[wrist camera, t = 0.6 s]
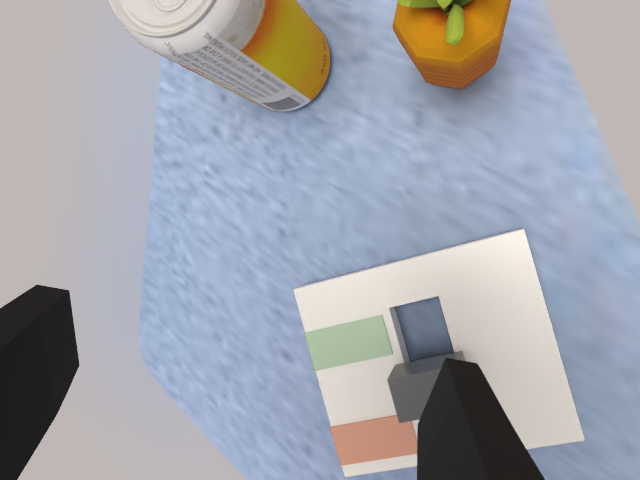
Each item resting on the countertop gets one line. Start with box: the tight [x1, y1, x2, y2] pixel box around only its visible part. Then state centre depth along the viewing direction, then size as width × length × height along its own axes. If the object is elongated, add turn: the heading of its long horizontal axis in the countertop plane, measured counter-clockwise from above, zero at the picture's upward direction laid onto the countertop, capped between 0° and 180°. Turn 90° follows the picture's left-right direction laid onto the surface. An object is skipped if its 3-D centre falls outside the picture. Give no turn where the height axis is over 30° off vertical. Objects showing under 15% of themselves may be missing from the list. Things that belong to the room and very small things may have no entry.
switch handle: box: [387, 351, 465, 423], centre depth 31 cm, size 2×4×5 cm, turn 107°
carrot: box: [393, 0, 511, 89], centre depth 25 cm, size 5×5×15 cm
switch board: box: [294, 228, 585, 477], centre depth 33 cm, size 12×14×2 cm
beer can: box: [109, 0, 330, 112], centre depth 28 cm, size 6×6×15 cm
